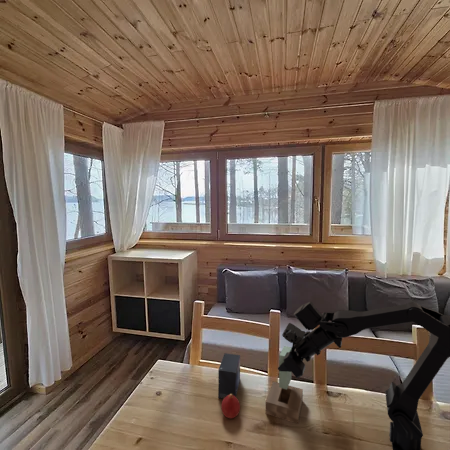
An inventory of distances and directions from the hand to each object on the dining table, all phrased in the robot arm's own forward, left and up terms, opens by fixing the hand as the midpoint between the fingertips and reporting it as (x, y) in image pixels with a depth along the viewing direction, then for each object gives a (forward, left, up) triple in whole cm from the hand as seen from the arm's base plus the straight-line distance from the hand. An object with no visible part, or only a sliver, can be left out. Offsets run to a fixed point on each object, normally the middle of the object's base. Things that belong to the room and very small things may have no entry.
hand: (281, 364), depth 88 cm
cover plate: (-1, 0, -6) cm, 6 cm away
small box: (+18, +3, -14) cm, 23 cm away
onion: (+12, +14, -14) cm, 23 cm away
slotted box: (-2, +3, -14) cm, 14 cm away
